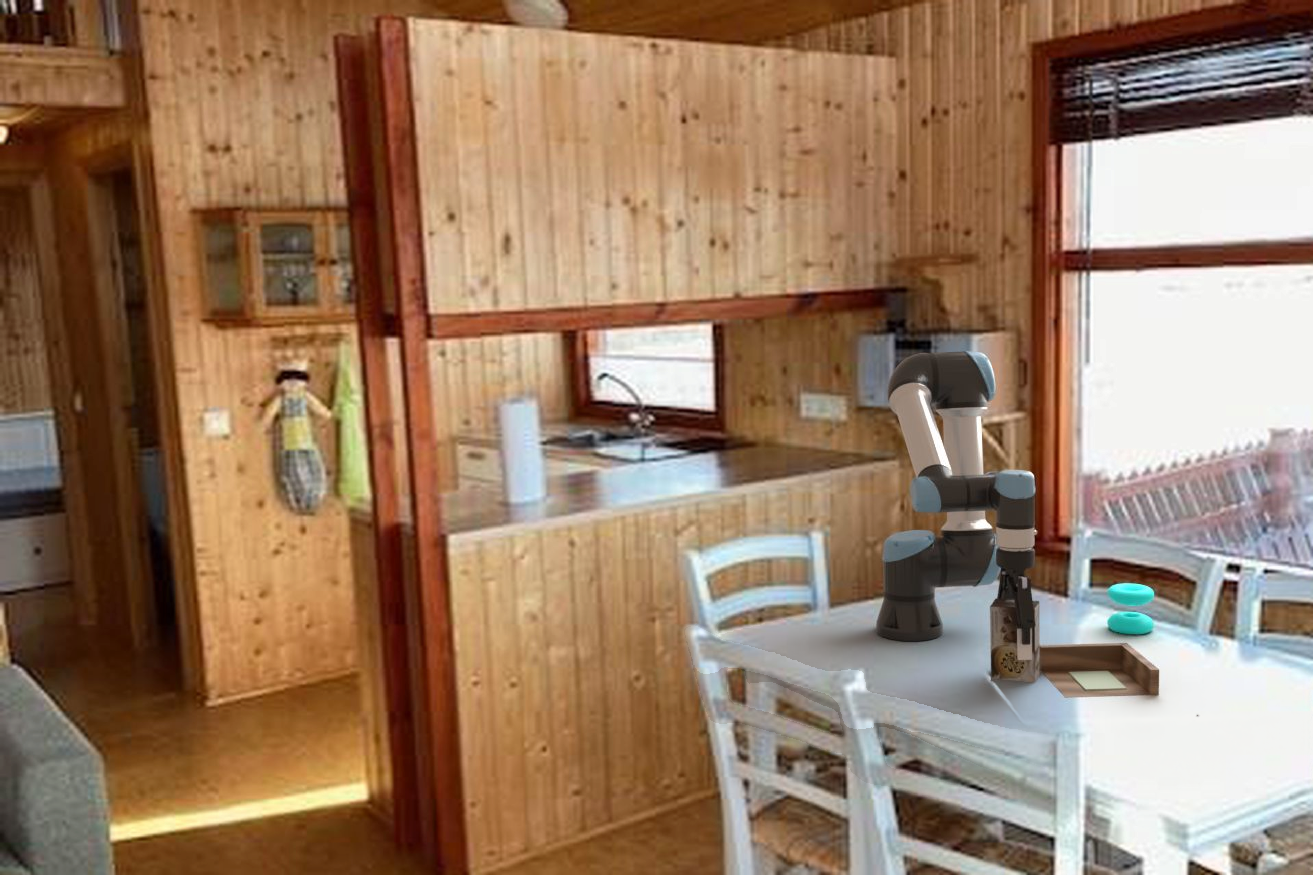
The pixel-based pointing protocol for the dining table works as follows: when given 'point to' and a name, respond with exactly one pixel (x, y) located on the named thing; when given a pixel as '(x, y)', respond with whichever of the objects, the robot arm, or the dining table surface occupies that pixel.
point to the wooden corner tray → (1099, 668)
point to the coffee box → (1011, 644)
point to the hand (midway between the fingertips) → (1015, 649)
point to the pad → (1097, 680)
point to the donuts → (1131, 597)
